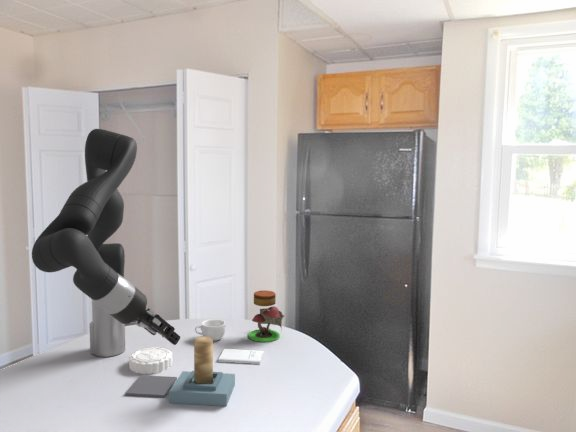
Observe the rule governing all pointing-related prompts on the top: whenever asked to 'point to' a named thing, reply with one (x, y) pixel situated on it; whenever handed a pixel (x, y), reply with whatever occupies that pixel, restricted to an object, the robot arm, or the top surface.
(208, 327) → the teacup
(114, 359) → the top surface
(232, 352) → the external hard drive
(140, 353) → the mooncake
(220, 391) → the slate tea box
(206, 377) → the oak stopper
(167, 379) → the grey rubber coaster
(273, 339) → the mushroom figurine
